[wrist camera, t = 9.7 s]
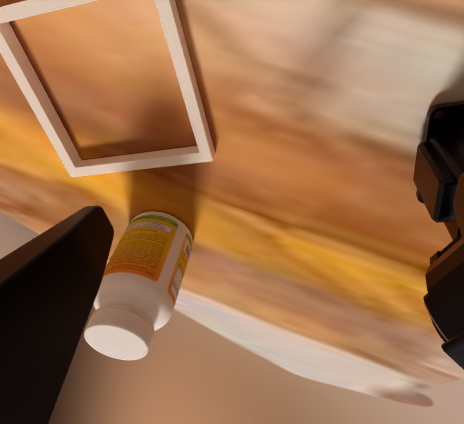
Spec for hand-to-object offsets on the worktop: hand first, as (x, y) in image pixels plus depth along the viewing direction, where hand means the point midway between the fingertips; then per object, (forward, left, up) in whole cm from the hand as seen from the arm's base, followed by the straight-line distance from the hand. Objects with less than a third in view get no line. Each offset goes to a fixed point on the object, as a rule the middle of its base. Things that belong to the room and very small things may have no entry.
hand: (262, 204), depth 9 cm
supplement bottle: (+11, +12, -13) cm, 21 cm away
